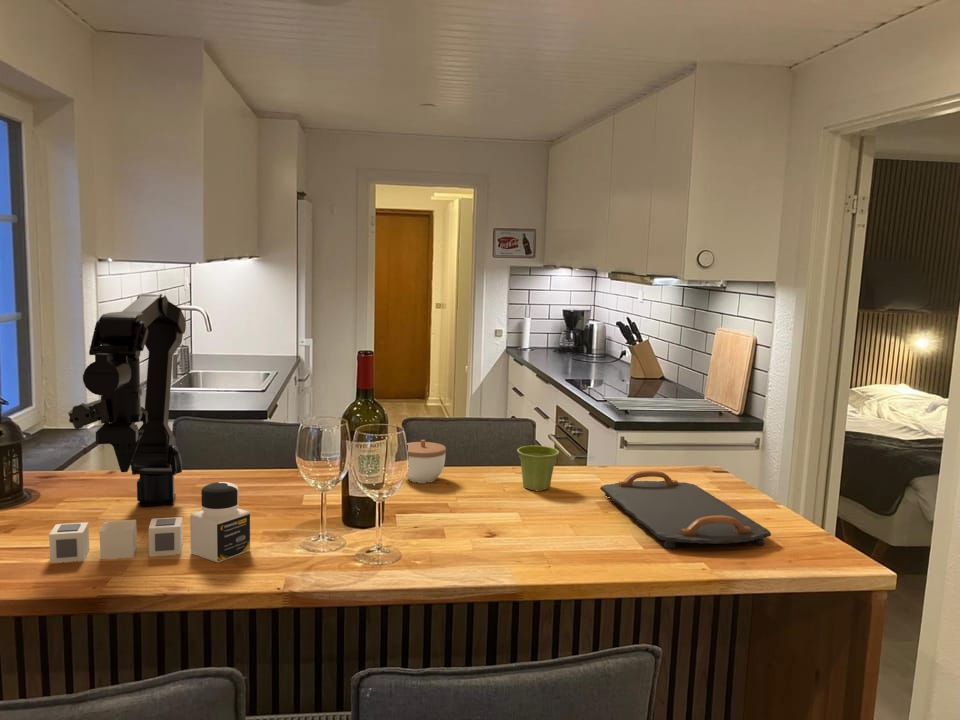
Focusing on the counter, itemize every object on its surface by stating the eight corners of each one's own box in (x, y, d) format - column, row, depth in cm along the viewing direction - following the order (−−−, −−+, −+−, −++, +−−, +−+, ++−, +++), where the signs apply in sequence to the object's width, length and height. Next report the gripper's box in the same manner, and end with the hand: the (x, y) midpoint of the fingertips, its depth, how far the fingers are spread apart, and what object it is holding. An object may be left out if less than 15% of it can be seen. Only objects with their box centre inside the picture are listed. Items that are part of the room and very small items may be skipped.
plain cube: (136, 547, 139) (136, 519, 138) (133, 558, 134) (132, 529, 134) (105, 549, 138) (104, 521, 137) (100, 560, 133) (99, 531, 132)
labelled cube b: (89, 550, 137) (88, 521, 136) (83, 562, 132) (82, 531, 131) (57, 552, 135) (55, 523, 135) (50, 564, 130) (48, 533, 130)
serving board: (781, 553, 148) (784, 521, 147) (665, 558, 143) (667, 525, 142) (686, 491, 185) (688, 465, 185) (592, 494, 181) (593, 467, 180)
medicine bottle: (217, 563, 133) (217, 493, 131) (189, 554, 137) (188, 485, 135) (251, 551, 139) (250, 484, 137) (223, 542, 143) (222, 476, 141)
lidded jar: (403, 472, 192) (404, 433, 190) (448, 474, 191) (449, 436, 189) (394, 484, 181) (395, 444, 180) (441, 487, 180) (442, 447, 179)
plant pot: (558, 494, 178) (560, 456, 177) (516, 492, 178) (518, 454, 177) (555, 482, 187) (557, 446, 186) (515, 481, 187) (516, 444, 186)
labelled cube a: (182, 544, 141) (182, 515, 140) (180, 555, 136) (180, 525, 135) (152, 546, 140) (151, 517, 139) (149, 557, 135) (148, 527, 134)
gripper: (82, 377, 147) (84, 460, 149) (60, 395, 130) (63, 489, 132) (147, 377, 151) (149, 458, 153) (134, 394, 133) (136, 485, 135)
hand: (124, 471), depth 143 cm, fingers closed
